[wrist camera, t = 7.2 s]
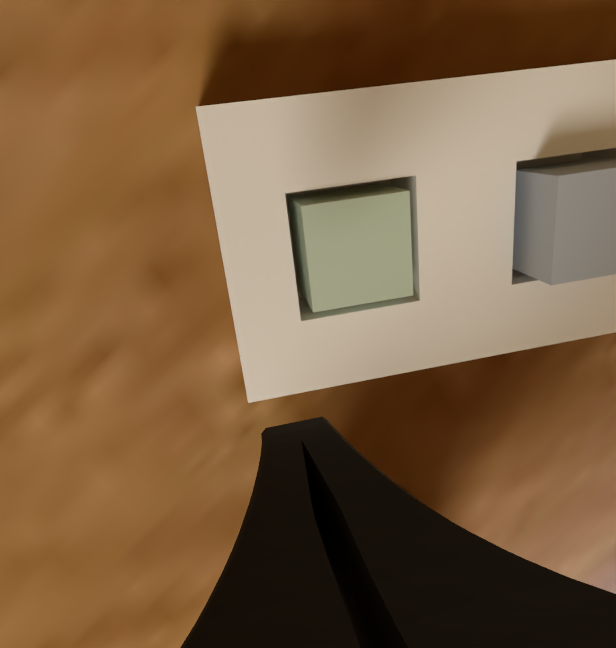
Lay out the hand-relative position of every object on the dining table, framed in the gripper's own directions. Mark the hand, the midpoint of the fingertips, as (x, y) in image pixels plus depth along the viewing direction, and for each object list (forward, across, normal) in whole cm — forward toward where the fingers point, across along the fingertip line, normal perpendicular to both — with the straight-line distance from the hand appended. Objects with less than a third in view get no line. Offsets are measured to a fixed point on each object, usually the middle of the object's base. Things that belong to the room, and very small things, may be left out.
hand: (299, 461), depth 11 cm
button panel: (+10, -12, -2) cm, 16 cm away
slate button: (+9, -12, -2) cm, 15 cm away
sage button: (+10, -4, -2) cm, 11 cm away
